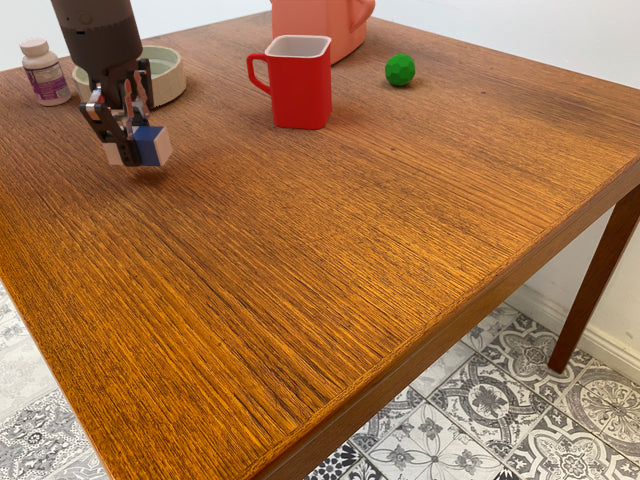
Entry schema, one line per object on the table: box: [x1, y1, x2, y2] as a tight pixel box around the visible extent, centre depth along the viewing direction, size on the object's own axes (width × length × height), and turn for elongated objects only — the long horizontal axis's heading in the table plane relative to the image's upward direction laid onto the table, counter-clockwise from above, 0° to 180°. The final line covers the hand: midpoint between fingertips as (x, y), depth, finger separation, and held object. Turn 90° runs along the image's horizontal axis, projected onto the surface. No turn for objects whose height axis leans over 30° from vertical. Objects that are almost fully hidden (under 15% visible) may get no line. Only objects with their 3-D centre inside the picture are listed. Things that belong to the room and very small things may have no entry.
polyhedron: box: [384, 52, 416, 87], centre depth 84 cm, size 5×5×5 cm
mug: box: [245, 35, 333, 130], centre depth 75 cm, size 12×8×11 cm
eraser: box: [101, 125, 174, 167], centre depth 64 cm, size 7×4×4 cm, turn 83°
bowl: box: [71, 44, 188, 112], centre depth 86 cm, size 17×17×5 cm
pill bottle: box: [19, 37, 72, 107], centre depth 84 cm, size 5×5×10 cm
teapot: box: [269, 0, 376, 65], centre depth 96 cm, size 20×22×14 cm
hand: (140, 155), depth 65 cm, fingers closed on eraser, 3 cm apart
